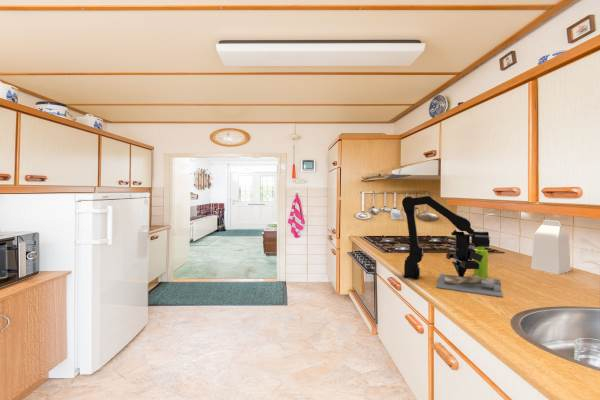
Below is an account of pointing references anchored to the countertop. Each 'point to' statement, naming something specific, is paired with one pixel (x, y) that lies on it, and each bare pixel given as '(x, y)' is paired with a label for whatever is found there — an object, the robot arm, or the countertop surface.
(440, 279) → the board
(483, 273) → the soap dispenser
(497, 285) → the block
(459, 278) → the link
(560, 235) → the milk
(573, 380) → the countertop surface
